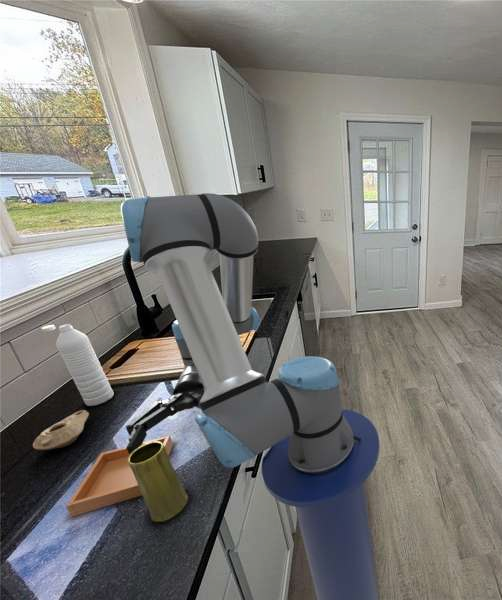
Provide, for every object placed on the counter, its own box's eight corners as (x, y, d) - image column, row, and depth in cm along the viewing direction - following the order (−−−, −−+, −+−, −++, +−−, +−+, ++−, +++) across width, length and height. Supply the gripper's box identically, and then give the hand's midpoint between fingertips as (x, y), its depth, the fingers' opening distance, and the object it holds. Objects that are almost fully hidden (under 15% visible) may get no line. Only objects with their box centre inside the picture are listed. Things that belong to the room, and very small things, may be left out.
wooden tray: (173, 444, 77) (169, 435, 76) (154, 491, 65) (149, 481, 64) (105, 462, 73) (100, 452, 72) (71, 516, 61) (65, 506, 60)
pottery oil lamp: (106, 415, 87) (99, 402, 83) (72, 460, 78) (63, 448, 74) (68, 411, 85) (60, 397, 81) (30, 456, 76) (17, 443, 72)
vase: (195, 494, 64) (174, 441, 59) (169, 525, 58) (143, 469, 53) (170, 490, 65) (147, 437, 60) (142, 519, 59) (114, 464, 54)
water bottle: (119, 391, 98) (86, 319, 89) (103, 405, 92) (66, 329, 83) (89, 394, 97) (53, 322, 88) (71, 408, 91) (31, 332, 82)
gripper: (246, 385, 90) (238, 438, 71) (143, 408, 82) (103, 474, 63) (240, 362, 87) (230, 411, 68) (133, 385, 79) (88, 446, 61)
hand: (169, 442), depth 66 cm, fingers open, 13 cm apart
